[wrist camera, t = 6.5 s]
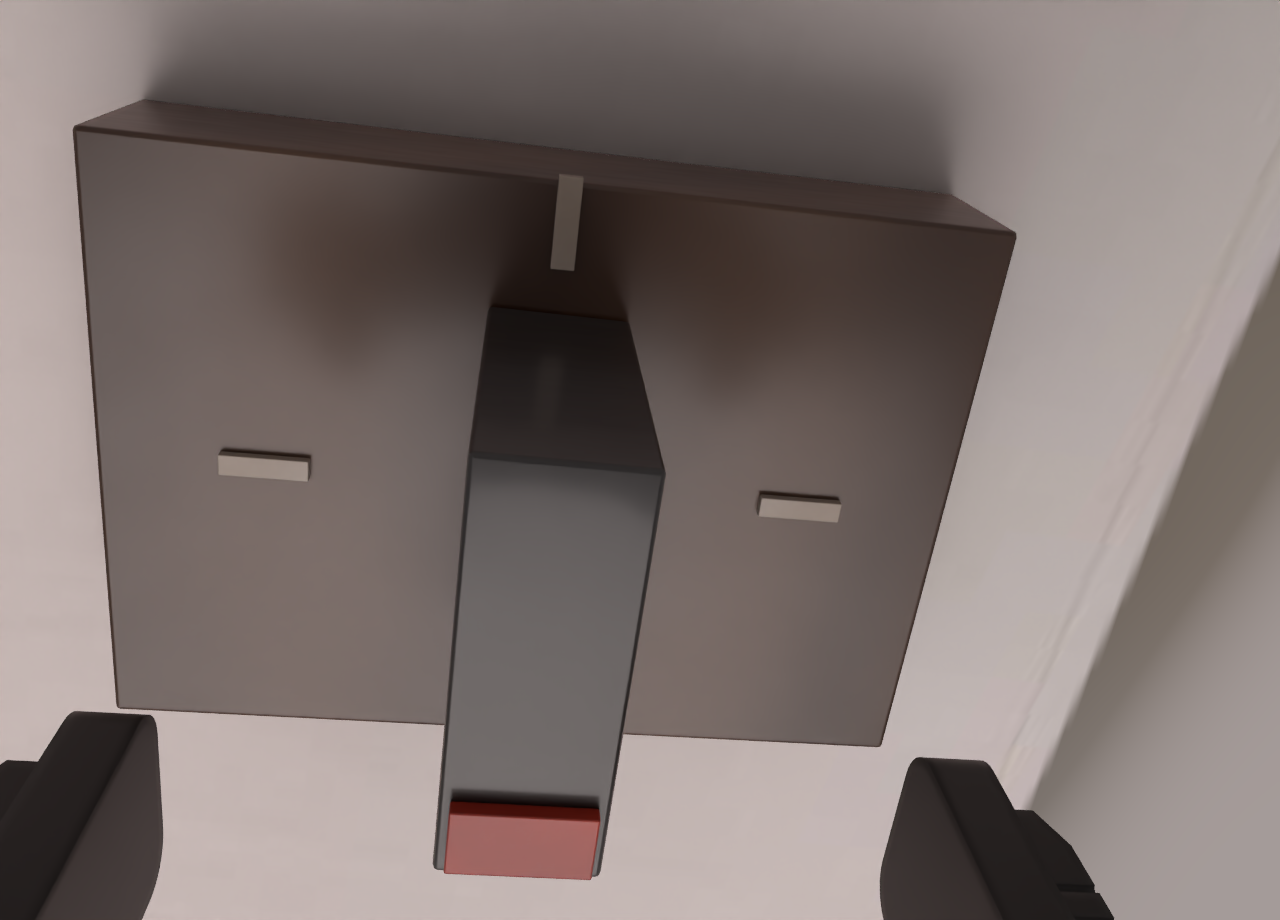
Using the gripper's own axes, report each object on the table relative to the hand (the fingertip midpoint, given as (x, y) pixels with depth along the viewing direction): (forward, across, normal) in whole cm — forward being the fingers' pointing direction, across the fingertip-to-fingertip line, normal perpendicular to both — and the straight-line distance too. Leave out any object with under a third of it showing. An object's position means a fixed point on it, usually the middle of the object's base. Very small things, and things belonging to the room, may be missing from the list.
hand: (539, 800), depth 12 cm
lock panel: (+10, 0, 0) cm, 10 cm away
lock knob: (+7, 0, 0) cm, 7 cm away
